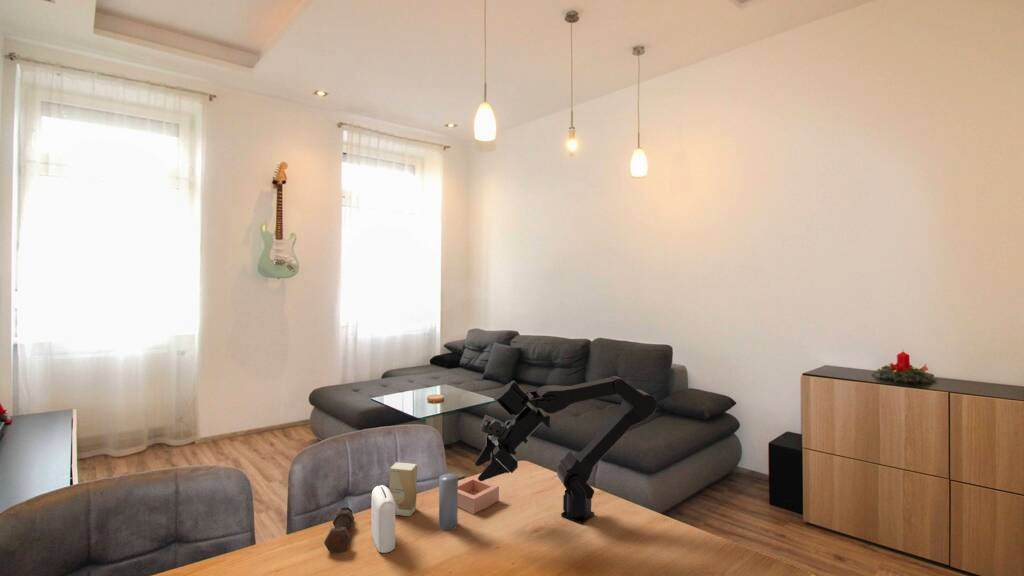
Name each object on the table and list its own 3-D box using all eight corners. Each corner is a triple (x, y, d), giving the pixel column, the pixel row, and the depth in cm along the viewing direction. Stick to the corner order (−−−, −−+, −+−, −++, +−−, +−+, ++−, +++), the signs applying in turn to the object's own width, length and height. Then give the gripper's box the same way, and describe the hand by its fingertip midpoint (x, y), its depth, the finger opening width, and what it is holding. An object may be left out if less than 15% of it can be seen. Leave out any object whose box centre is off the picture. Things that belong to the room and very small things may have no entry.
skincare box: (387, 514, 126) (388, 467, 126) (394, 506, 131) (394, 461, 130) (411, 517, 125) (411, 469, 125) (417, 508, 130) (417, 463, 129)
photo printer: (369, 533, 117) (369, 482, 117) (387, 529, 119) (387, 479, 119) (377, 555, 108) (377, 500, 108) (397, 551, 110) (397, 496, 110)
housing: (498, 500, 135) (498, 486, 135) (473, 514, 127) (473, 499, 127) (472, 490, 141) (472, 476, 141) (447, 502, 133) (447, 488, 133)
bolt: (348, 527, 124) (340, 558, 109) (330, 518, 123) (320, 549, 108) (360, 505, 124) (354, 534, 110) (342, 497, 124) (334, 525, 109)
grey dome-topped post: (461, 524, 122) (461, 477, 121) (447, 532, 118) (448, 483, 118) (448, 518, 125) (449, 472, 124) (435, 525, 121) (435, 477, 121)
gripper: (495, 395, 132) (453, 438, 130) (504, 416, 113) (456, 465, 112) (523, 423, 133) (482, 465, 132) (537, 448, 115) (490, 497, 113)
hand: (477, 472), depth 122 cm, fingers open, 9 cm apart
